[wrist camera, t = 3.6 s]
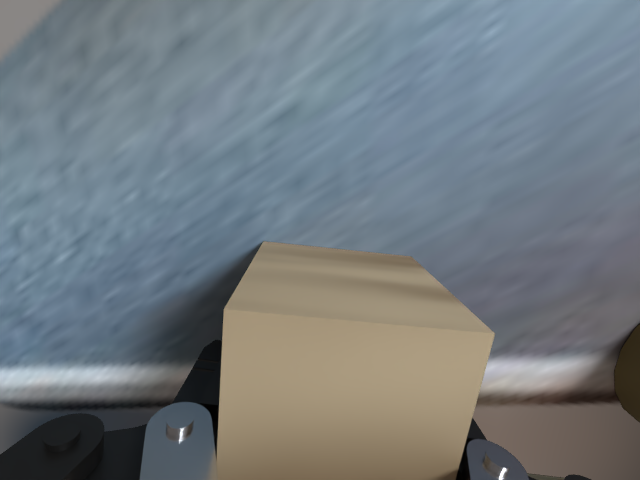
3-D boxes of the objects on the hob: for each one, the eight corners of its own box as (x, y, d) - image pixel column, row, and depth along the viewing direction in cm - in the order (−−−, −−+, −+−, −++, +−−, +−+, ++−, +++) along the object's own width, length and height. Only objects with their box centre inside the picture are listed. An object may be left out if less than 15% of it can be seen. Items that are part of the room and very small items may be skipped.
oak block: (263, 241, 10) (224, 309, 6) (410, 256, 11) (494, 333, 6) (248, 439, 12) (208, 620, 7) (374, 448, 13) (416, 627, 8)
